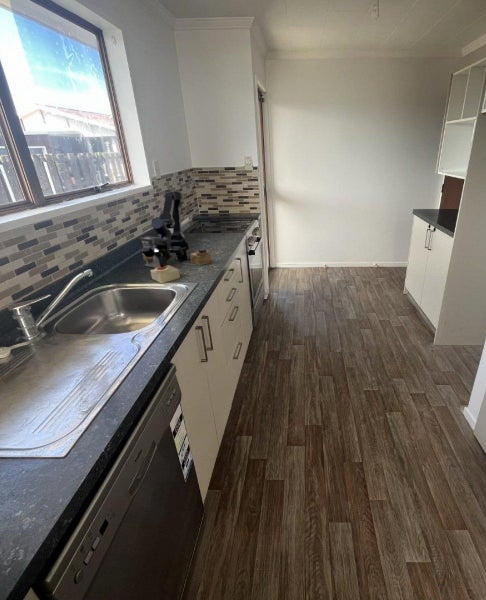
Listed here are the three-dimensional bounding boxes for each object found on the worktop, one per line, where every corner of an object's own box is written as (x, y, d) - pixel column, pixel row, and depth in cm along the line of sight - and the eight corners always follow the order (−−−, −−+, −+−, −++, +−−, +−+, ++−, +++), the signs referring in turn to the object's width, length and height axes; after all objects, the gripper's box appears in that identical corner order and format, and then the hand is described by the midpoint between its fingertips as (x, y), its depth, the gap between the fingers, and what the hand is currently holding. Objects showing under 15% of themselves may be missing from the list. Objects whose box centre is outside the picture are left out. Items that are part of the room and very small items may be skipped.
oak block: (191, 262, 190) (189, 250, 187) (203, 259, 196) (201, 247, 193) (201, 266, 184) (199, 254, 181) (213, 263, 189) (212, 251, 186)
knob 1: (156, 271, 163) (155, 267, 162) (164, 269, 166) (163, 265, 165) (160, 273, 161) (159, 269, 160) (168, 271, 163) (167, 267, 163)
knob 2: (197, 252, 185) (197, 249, 185) (203, 250, 188) (203, 248, 187) (201, 253, 183) (201, 250, 182) (207, 252, 186) (207, 249, 185)
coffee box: (144, 266, 185) (138, 238, 178) (153, 262, 191) (147, 235, 184) (156, 268, 182) (150, 239, 175) (165, 264, 187) (159, 236, 181)
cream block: (151, 279, 167) (148, 267, 164) (170, 273, 174) (168, 261, 171) (161, 284, 161) (158, 271, 158) (180, 278, 168) (178, 266, 165)
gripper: (138, 231, 159) (135, 260, 154) (177, 230, 160) (175, 258, 155) (148, 242, 170) (144, 270, 165) (184, 241, 171) (182, 268, 166)
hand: (161, 266), depth 162 cm, fingers closed, pressing on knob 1
